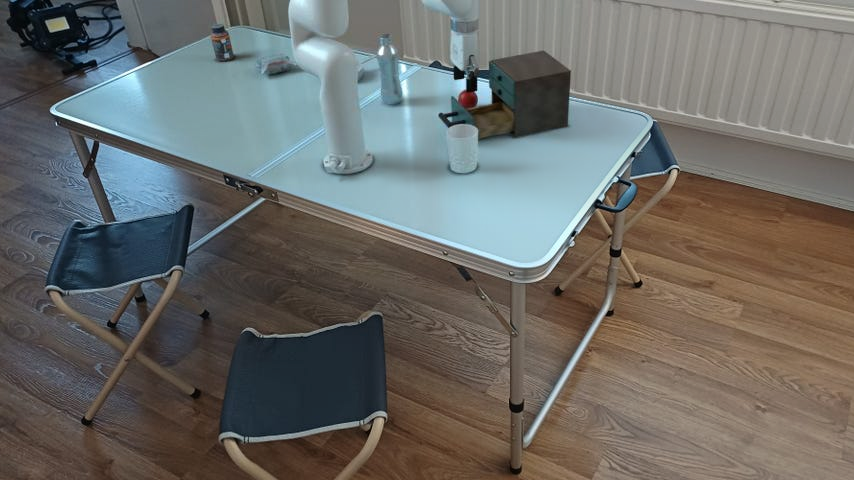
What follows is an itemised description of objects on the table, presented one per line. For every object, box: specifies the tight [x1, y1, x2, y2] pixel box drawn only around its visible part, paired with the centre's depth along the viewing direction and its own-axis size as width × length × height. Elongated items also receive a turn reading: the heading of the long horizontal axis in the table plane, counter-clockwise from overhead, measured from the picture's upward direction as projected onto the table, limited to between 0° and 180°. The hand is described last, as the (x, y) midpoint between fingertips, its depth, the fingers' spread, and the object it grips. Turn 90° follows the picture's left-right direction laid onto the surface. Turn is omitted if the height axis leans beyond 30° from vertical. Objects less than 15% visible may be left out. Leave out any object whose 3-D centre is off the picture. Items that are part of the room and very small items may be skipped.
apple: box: [457, 89, 479, 109], centre depth 209 cm, size 6×6×7 cm
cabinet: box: [488, 50, 572, 138], centre depth 199 cm, size 18×16×16 cm
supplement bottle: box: [210, 23, 235, 62], centre depth 245 cm, size 6×6×11 cm
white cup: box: [445, 124, 479, 174], centre depth 181 cm, size 8×8×10 cm
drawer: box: [437, 95, 514, 140], centre depth 197 cm, size 21×15×8 cm
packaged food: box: [254, 53, 298, 76], centre depth 237 cm, size 9×12×5 cm
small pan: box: [358, 54, 377, 81], centre depth 233 cm, size 11×18×4 cm, turn 136°
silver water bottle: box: [376, 33, 404, 105], centre depth 210 cm, size 6×7×20 cm
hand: (465, 85), depth 206 cm, fingers open, 9 cm apart
